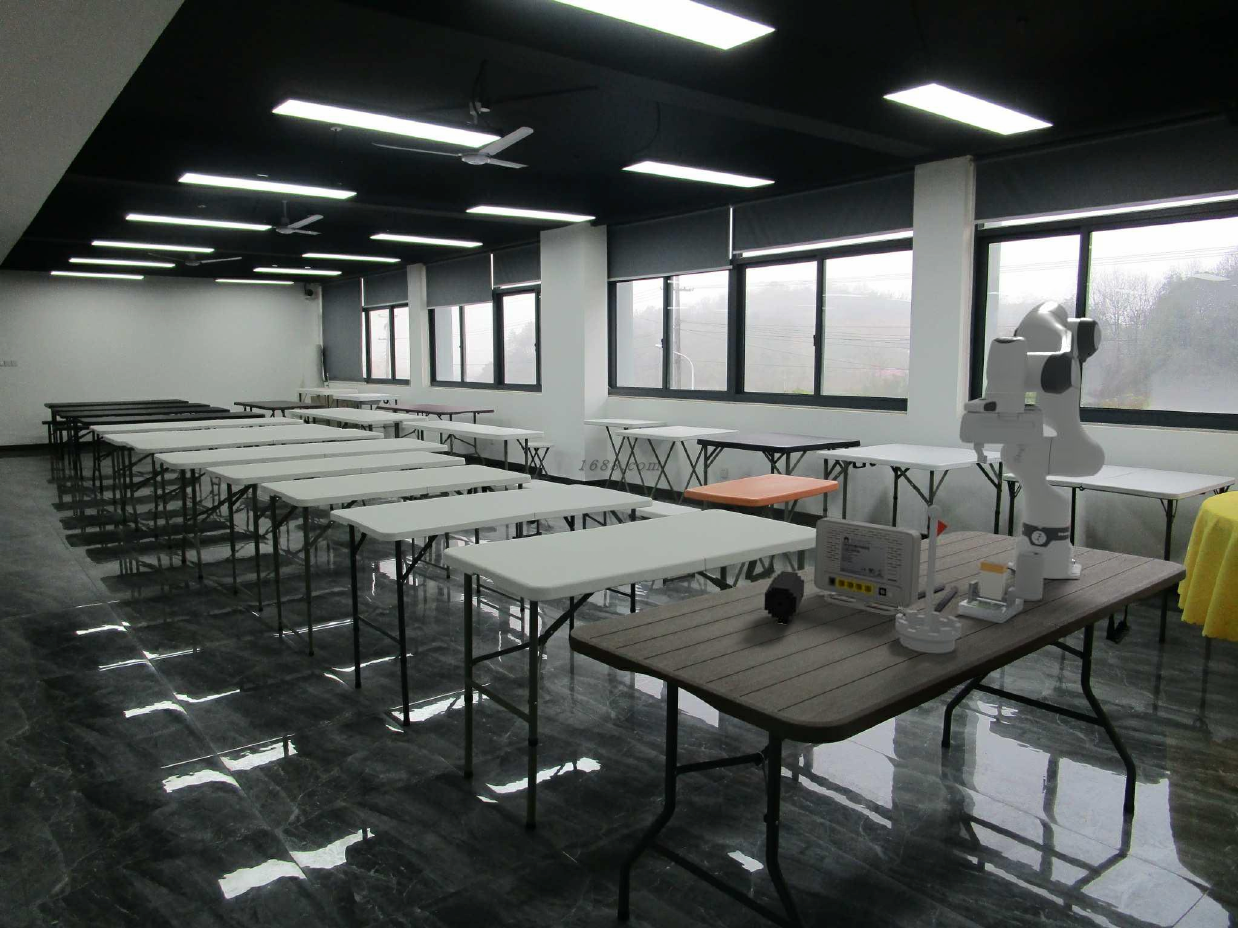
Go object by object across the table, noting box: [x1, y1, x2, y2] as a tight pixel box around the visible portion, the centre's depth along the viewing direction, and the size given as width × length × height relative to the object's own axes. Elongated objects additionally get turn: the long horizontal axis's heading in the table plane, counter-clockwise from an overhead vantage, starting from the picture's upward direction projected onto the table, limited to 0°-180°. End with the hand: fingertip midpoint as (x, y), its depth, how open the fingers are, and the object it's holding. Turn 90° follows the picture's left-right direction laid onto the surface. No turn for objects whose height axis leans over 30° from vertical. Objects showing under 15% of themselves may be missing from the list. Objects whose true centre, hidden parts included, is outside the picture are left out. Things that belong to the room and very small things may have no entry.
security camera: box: [763, 570, 805, 625], centre depth 188 cm, size 7×18×10 cm, turn 161°
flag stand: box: [894, 504, 962, 654], centre depth 172 cm, size 13×13×30 cm
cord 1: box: [918, 582, 946, 599], centre depth 210 cm, size 19×1×1 cm, turn 132°
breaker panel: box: [957, 579, 1025, 624], centre depth 196 cm, size 15×10×6 cm, turn 137°
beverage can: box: [1014, 550, 1045, 602], centre depth 207 cm, size 6×6×12 cm
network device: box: [813, 516, 922, 616], centre depth 200 cm, size 26×9×20 cm, turn 47°
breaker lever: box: [975, 559, 1008, 603], centre depth 195 cm, size 2×7×9 cm, turn 47°
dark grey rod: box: [933, 585, 959, 613], centre depth 204 cm, size 23×1×1 cm, turn 147°
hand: (999, 462), depth 195 cm, fingers open, 8 cm apart
